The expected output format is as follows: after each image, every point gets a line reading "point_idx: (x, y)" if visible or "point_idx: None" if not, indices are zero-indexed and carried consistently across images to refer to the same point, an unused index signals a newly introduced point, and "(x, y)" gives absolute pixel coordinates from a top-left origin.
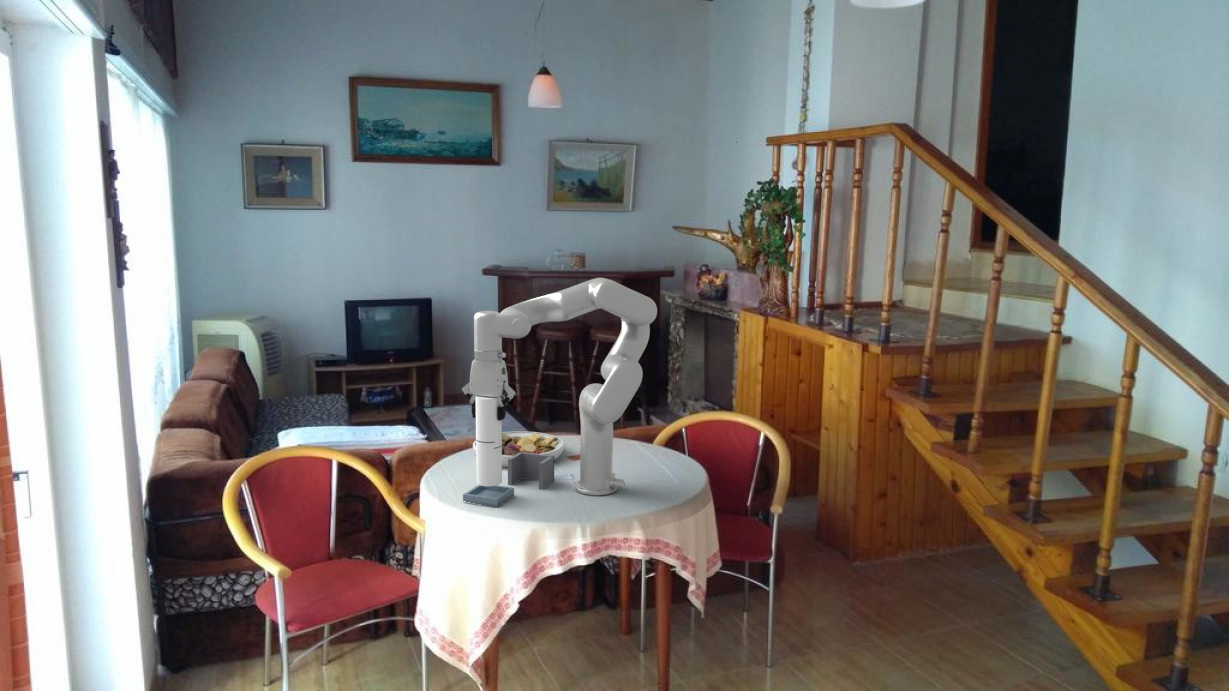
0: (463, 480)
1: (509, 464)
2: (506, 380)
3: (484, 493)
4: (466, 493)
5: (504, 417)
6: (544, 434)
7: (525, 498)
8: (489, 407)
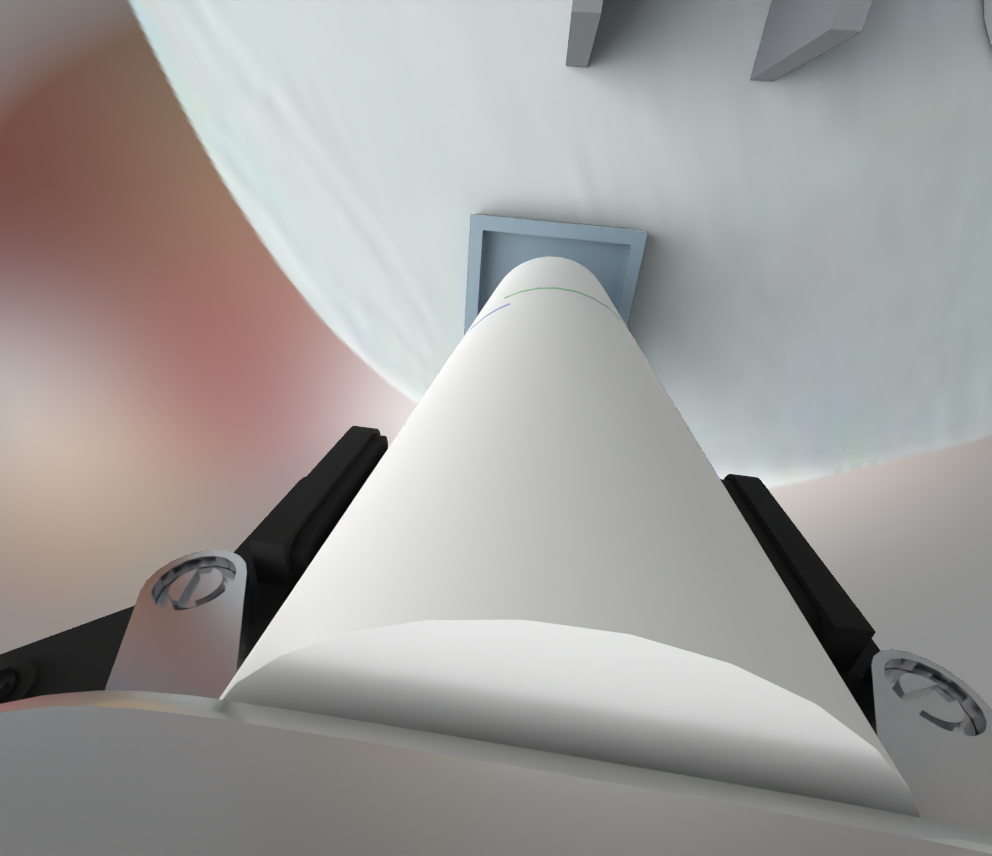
0: (324, 78)
1: (582, 27)
2: None
3: None
4: None
5: (755, 482)
6: None
7: (701, 248)
8: None
